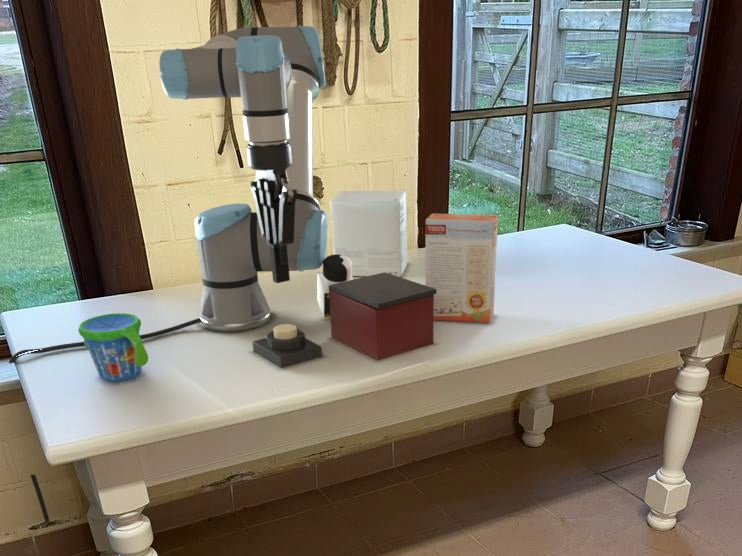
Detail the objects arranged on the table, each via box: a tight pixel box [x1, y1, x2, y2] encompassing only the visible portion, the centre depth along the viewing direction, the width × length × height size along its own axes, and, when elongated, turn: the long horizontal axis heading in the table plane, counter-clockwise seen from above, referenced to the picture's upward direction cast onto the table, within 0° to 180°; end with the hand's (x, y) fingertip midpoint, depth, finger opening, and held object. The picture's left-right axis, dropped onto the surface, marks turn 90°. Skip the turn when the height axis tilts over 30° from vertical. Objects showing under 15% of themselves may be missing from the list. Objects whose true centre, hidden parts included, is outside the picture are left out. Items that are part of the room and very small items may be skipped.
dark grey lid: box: [329, 272, 436, 309], centre depth 152 cm, size 17×14×1 cm
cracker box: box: [424, 213, 499, 324], centre depth 163 cm, size 14×6×21 cm, turn 74°
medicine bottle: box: [316, 254, 354, 320], centre depth 168 cm, size 7×7×12 cm
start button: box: [272, 323, 298, 340], centre depth 151 cm, size 4×4×2 cm
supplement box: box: [329, 189, 408, 278], centre depth 196 cm, size 17×13×18 cm
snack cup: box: [78, 312, 149, 383], centre depth 144 cm, size 16×10×10 cm
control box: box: [251, 328, 323, 369], centre depth 152 cm, size 11×9×4 cm
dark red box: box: [329, 290, 435, 361], centre depth 156 cm, size 16×14×10 cm
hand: (281, 280), depth 146 cm, fingers closed
